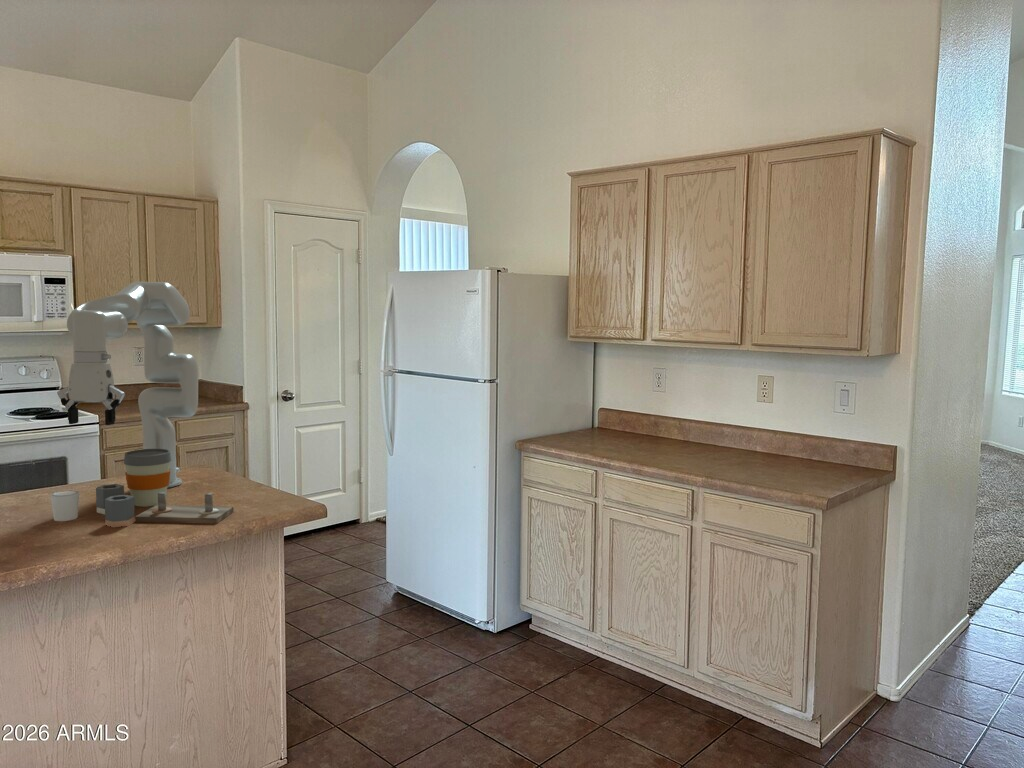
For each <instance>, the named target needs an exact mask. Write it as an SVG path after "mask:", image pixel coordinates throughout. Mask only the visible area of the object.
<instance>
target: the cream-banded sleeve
mask: <svg viewBox="0 0 1024 768" xmlns="http://www.w3.org/2000/svg"><path fill="white" fill-rule="evenodd" d="M118 495H125V485H123V484H119V483H111V484H109V483H108V484H102V485H100V486H97V487H95V499H96V500H95V501H96V513H97V514H100V515H101V514H102V515H105V499H106V498H109V497H111V496H118Z"/></svg>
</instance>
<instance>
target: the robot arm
mask: <svg viewBox="0 0 1024 768" xmlns="http://www.w3.org/2000/svg"><path fill="white" fill-rule="evenodd" d="M190 316H191V310H190V307H189V304H188V302H187V300H186V299H185V298H184V297H183V295H182V294H181V293H180V292H179V291H178V289H177V288H175V286H174V285H172V284H170V283H169V282H164V281H134V282H131V283H129V284H128V285H126V286H125V287H124V288H123V289H121V290H119V291H118V292H117V293H115V294H114V295H113V294H112V295H109V296H105V297H101V298H98V299H93V300H89V301H86V302H83V303H81V304H80V305H78V306H77V307H75V308H74V309H73V310H72V311H71V312H70V313H69V315H68V317H67V319H66V320H67V321H66V328H67V331H68V332H69V334H70V335H71V336H72V342H73V343H72V345H73V363H71V365H70V370H69V377H68V385H67V386H65V387H63V388H62V389H60V390H58V391H57V393H56V394H57V396H58V399H60V403H62V405H64V407H65V409H67V420H68V424H69V425H75V424H78V423H79V408H78V407H77V406H78V405H79V403H102V404H103V405H104V406H105V408H106V409H105V411H104V422H105V423H104V424H105V425H106V426H111V425H114V424H115V422H116V409H118V406H120V404H121V403H122V401H123V399H124V397H125V395H126V394H125V392H124V391H122V390H121V389H119V388H117V387H115V382H114V380H115V379H114V374H113V369H112V365H111V364H110V363H108V361H109V360H111V359H112V355H111V354H110V353H109V354H108V352H107V339H108V340H109V339H112V340H113V339H120V338H121V337H123V336H124V335H125V334H126V333H127V332H128V328H129V327H128V326H129V323H130V322H132V321H134V322H135V323H136V324H137V327H138V329H139V330H140V331H141V333H142V337H143V342H144V343H143V344H144V352H143V353H144V360H143V363H144V364H143V368H144V377H145V379H146V380H147V382H149V383H154V384H179V385H180V387H170V386H169V387H165V386H164V387H163V386H162V387H161V386H160V387H159V386H158V387H157V386H154V387H148V388H145V389H143V390H142V391H141V392H140V394H139V395H138V399H137V400H138V401H137V403H138V409H139V412H140V413H139V414H140V416H141V417H140V418H141V426H142V449H166V450H169V451H170V454H171V461H170V467H169V469H170V470H171V471H170V480H169V485H168V486H167V489H168V488H174V487H177V486H180V485H182V483H183V481H182V478H179V477H177V474H178V473H180V471H181V469H180V468H179V467H178V466H177V445H176V444H177V443H176V442H177V441H176V440H177V439H176V428H175V427H174V425H173V423H172V422H171V420H170V419H169V418H191V417H193V416H194V415H196V413H197V412H198V406H199V364H198V361H197V359H196V357H194V356H193V355H192V354H189V353H175V351H174V350H175V349H174V348H175V347H174V344H175V343H174V342H175V340H174V336H173V335H172V332H171V331H170V330H169V329H168V327H166V326H170V327H171V326H173V327H175V326H178V327H179V326H184V325H186V324H187V323H188V322H189V319H190ZM67 394H68V397H67Z"/></svg>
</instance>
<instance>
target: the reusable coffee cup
mask: <svg viewBox="0 0 1024 768" xmlns="http://www.w3.org/2000/svg"><path fill="white" fill-rule="evenodd" d="M123 458H124V459H123V464H124V465H125V470H126V472H124V473H125V479H126V485H127V489H129V494H130V496H133V497H134V507H153V506H155V505H158V493H160V492H165V493H166V495H167V493H168V488H167V486H168V485H169V480H170V471H171V470H170V469H169V467H170V461H171V454H170V451H169V450H166V449H143V448H141V449H135V450H130V451H126V452H125V453H124V457H123Z"/></svg>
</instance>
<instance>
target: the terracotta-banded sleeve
mask: <svg viewBox="0 0 1024 768" xmlns="http://www.w3.org/2000/svg"><path fill="white" fill-rule="evenodd" d="M135 514H136V513H135V506H134V497H133V496H131V495H128V494H124V495H118V496H111V497H109V498H106V499H105V514H104V518H105V519H104V522H105V526H106V525H107V526H106V527H110V526H111V527H110V528H121V526H122V527H129V526H130V525H132V524H134V523H136V522H135V516H136V515H135Z"/></svg>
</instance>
